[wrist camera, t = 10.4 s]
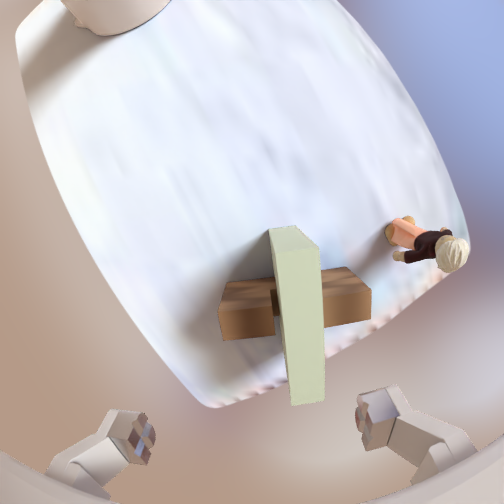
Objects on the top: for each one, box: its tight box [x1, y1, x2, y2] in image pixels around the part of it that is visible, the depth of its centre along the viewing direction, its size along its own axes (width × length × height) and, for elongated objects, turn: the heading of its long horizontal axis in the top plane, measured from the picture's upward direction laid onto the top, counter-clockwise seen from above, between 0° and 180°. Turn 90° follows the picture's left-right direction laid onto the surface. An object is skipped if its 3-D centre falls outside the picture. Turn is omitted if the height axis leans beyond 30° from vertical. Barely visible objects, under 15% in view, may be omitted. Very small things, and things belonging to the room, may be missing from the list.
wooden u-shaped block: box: [218, 267, 371, 341], centre depth 28 cm, size 14×3×8 cm, turn 98°
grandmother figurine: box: [385, 216, 469, 273], centre depth 24 cm, size 8×4×13 cm, turn 125°
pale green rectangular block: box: [268, 226, 325, 406], centre depth 26 cm, size 14×3×12 cm, turn 8°
